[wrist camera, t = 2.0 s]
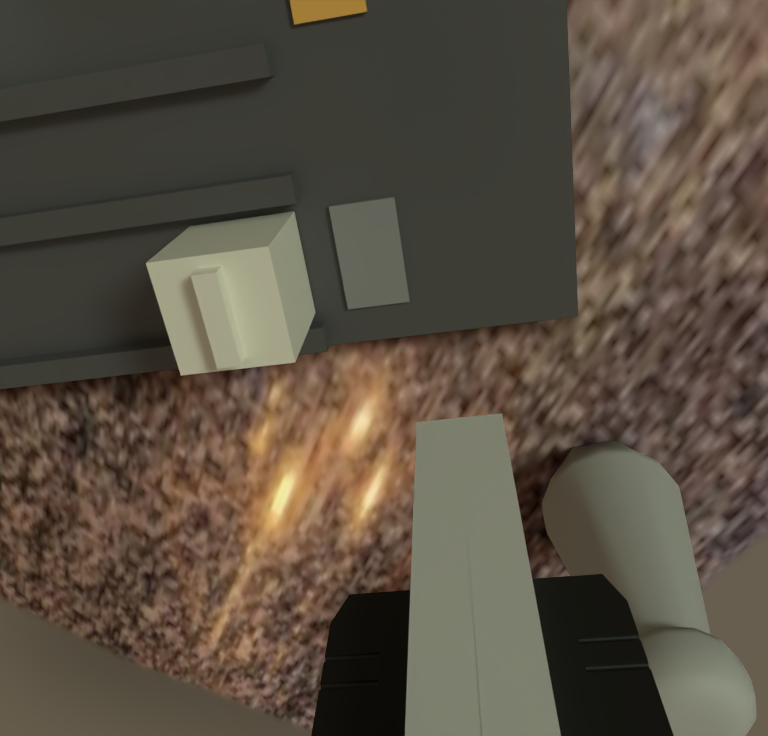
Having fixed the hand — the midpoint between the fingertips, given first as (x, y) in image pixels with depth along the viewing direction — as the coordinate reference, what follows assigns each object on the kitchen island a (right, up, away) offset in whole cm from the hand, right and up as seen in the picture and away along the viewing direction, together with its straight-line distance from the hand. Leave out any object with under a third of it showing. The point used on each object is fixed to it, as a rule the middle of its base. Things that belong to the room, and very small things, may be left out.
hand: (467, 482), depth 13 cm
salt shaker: (+8, -3, +20) cm, 22 cm away
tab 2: (-6, +6, +14) cm, 16 cm away
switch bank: (-9, +11, +14) cm, 20 cm away
